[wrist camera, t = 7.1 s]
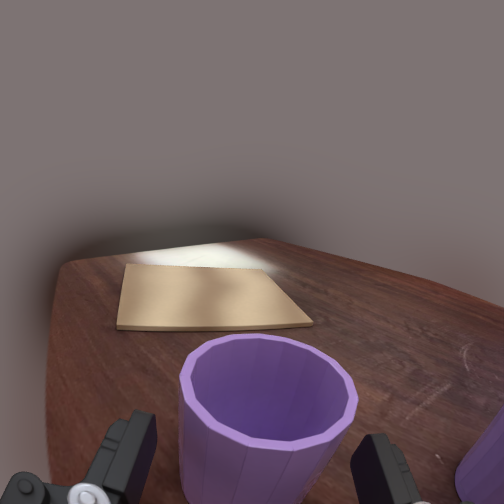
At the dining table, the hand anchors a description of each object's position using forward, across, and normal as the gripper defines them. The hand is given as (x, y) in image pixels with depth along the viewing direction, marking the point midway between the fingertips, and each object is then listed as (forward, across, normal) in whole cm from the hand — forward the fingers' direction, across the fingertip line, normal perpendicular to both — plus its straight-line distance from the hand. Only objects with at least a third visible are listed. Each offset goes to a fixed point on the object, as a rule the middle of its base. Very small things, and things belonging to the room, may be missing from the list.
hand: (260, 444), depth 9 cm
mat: (+25, +5, +6) cm, 26 cm away
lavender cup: (+2, 0, +6) cm, 6 cm away
